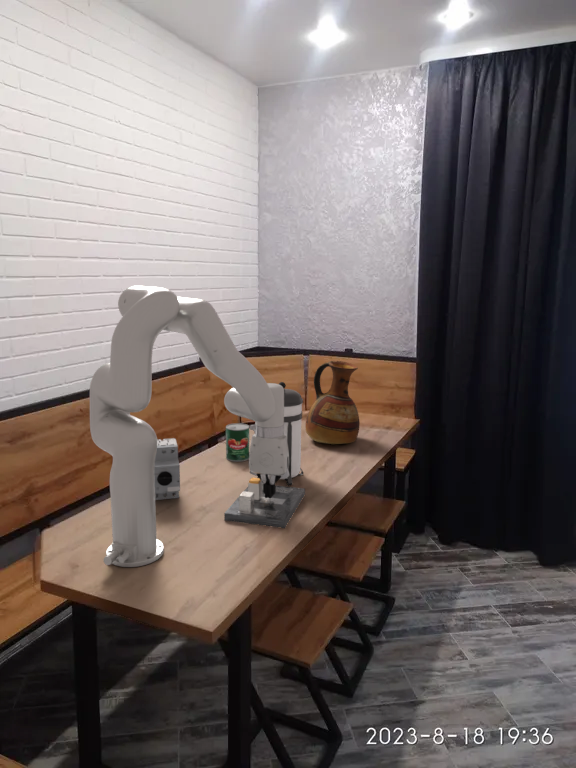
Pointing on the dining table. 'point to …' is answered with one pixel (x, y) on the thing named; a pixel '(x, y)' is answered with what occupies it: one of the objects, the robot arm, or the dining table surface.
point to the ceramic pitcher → (333, 408)
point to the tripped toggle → (255, 487)
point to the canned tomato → (237, 442)
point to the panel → (266, 507)
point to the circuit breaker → (167, 470)
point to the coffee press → (292, 430)
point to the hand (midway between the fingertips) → (269, 496)
